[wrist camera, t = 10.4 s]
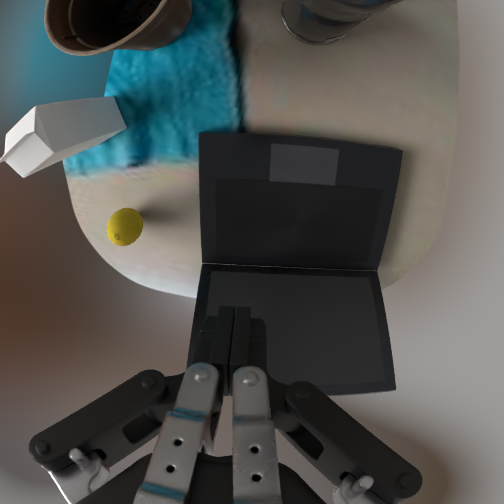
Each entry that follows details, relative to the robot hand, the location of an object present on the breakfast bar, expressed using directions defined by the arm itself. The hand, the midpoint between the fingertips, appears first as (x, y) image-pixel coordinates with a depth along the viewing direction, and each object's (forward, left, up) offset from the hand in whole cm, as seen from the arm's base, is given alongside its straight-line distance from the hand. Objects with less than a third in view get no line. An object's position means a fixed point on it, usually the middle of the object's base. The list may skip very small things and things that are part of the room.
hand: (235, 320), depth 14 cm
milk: (+6, -24, -33) cm, 41 cm away
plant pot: (-12, -26, -33) cm, 44 cm away
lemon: (+18, -12, -33) cm, 40 cm away
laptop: (+1, +9, -33) cm, 34 cm away
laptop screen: (+13, +17, -22) cm, 30 cm away
